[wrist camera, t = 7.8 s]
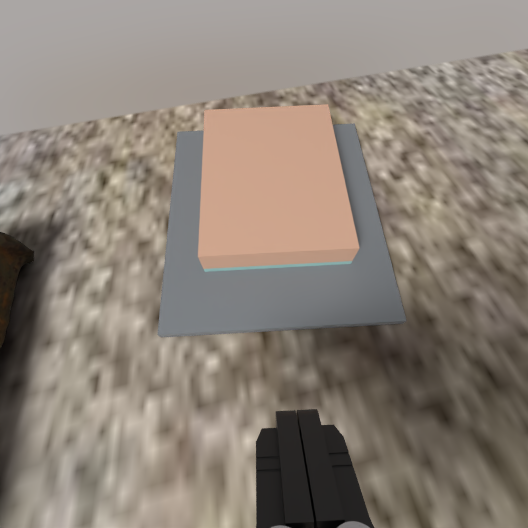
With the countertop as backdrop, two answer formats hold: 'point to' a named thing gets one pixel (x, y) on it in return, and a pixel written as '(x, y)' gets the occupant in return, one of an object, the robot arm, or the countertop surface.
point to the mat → (274, 279)
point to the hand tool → (10, 275)
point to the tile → (273, 190)
